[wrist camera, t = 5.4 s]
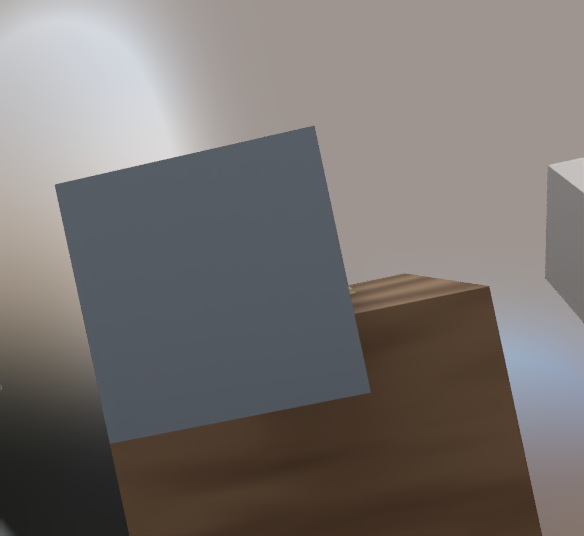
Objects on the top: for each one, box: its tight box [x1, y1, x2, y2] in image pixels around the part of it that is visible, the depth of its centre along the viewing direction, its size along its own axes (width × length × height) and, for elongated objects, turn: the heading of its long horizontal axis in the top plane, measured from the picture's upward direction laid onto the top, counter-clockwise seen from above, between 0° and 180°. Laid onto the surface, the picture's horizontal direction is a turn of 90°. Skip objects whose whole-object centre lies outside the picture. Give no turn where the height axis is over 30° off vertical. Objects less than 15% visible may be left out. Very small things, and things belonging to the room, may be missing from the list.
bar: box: [55, 126, 371, 444], centre depth 23 cm, size 30×4×4 cm, turn 177°
